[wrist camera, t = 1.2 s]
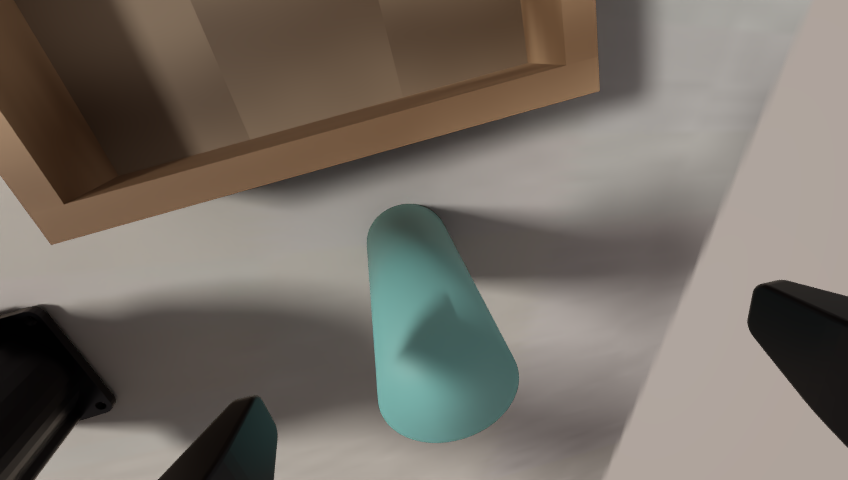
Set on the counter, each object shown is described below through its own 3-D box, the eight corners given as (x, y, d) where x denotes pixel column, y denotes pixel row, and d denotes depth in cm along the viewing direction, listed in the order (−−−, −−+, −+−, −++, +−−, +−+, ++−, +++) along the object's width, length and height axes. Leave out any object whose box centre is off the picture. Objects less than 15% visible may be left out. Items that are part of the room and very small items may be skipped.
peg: (454, 264, 21) (527, 419, 12) (379, 286, 21) (399, 458, 12) (437, 194, 20) (507, 314, 11) (356, 217, 19) (358, 359, 10)
